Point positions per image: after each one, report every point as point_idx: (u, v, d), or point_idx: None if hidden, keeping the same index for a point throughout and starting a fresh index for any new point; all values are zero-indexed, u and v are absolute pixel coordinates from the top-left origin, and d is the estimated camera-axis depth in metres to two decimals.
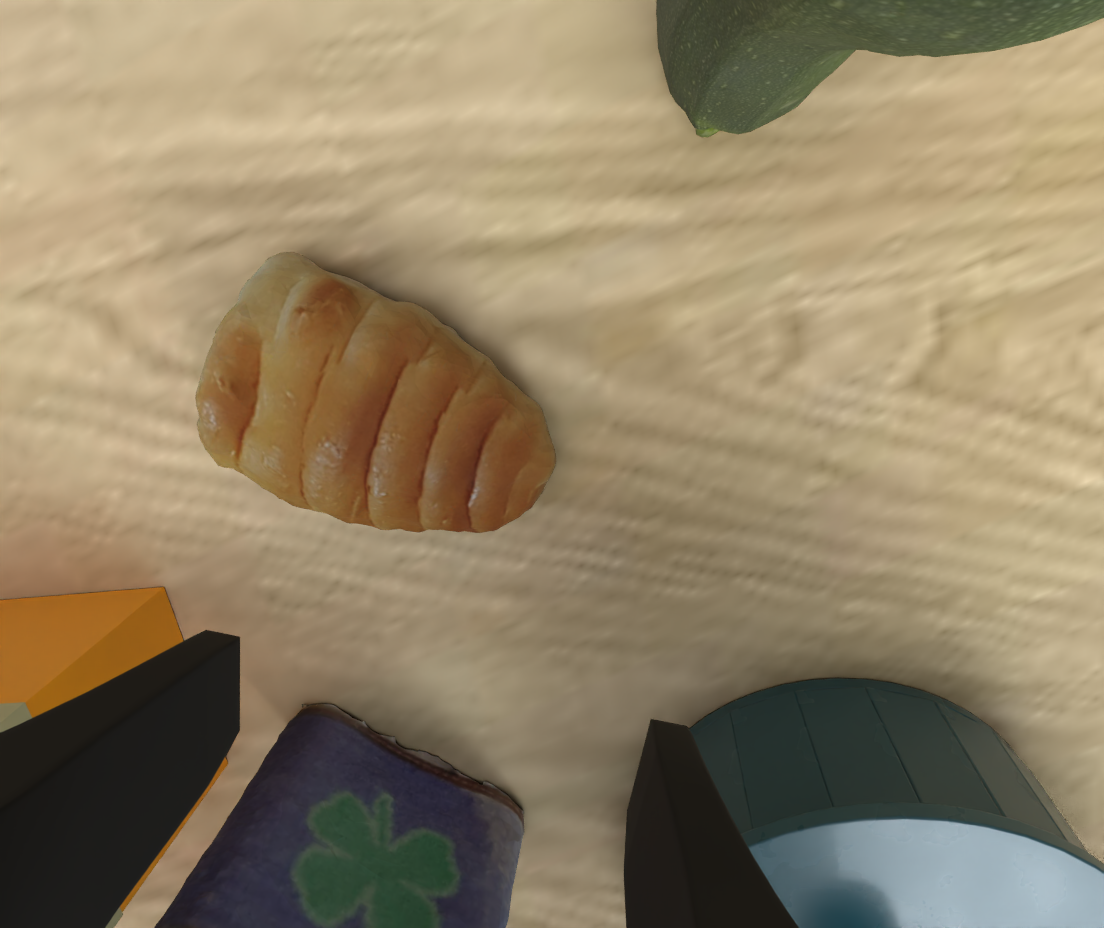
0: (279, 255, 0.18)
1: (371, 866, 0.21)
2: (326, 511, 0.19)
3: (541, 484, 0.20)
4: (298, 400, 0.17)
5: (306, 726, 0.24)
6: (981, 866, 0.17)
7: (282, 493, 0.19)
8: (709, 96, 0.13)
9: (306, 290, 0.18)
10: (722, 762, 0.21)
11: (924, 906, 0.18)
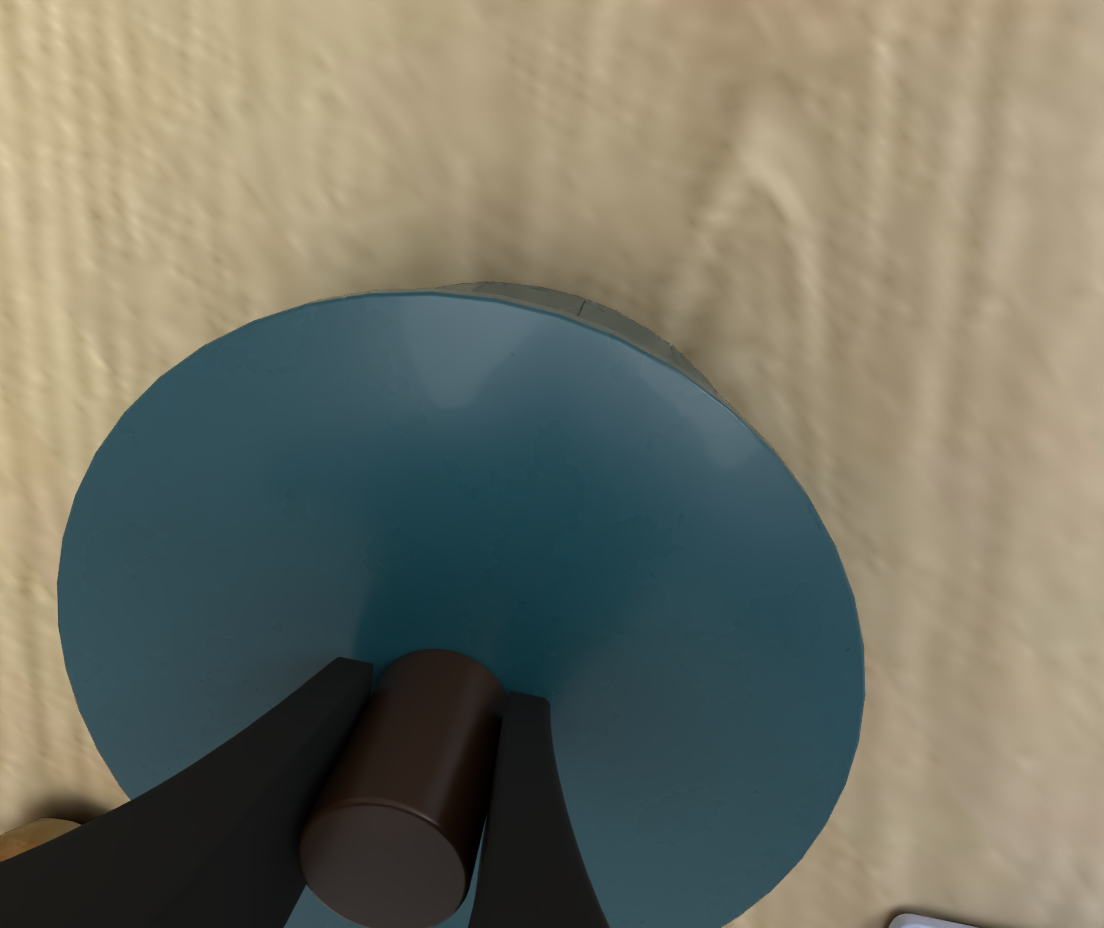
0: None
1: None
2: None
3: None
4: None
5: None
6: (122, 625, 0.13)
7: None
8: None
9: None
10: None
11: (208, 680, 0.13)
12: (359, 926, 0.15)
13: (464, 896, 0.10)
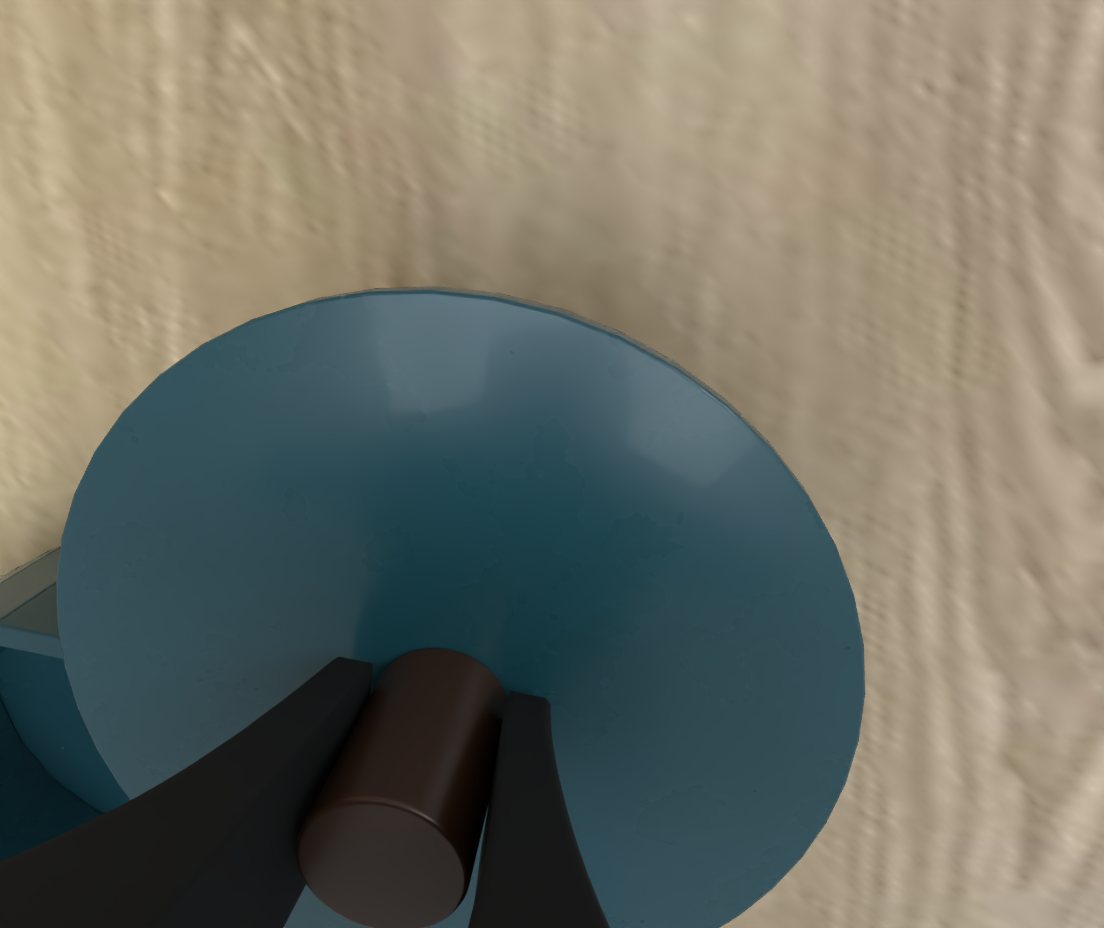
0: None
1: None
2: None
3: None
4: None
5: None
6: (120, 624, 0.13)
7: None
8: None
9: None
10: None
11: (207, 679, 0.13)
12: (359, 925, 0.15)
13: (463, 895, 0.10)
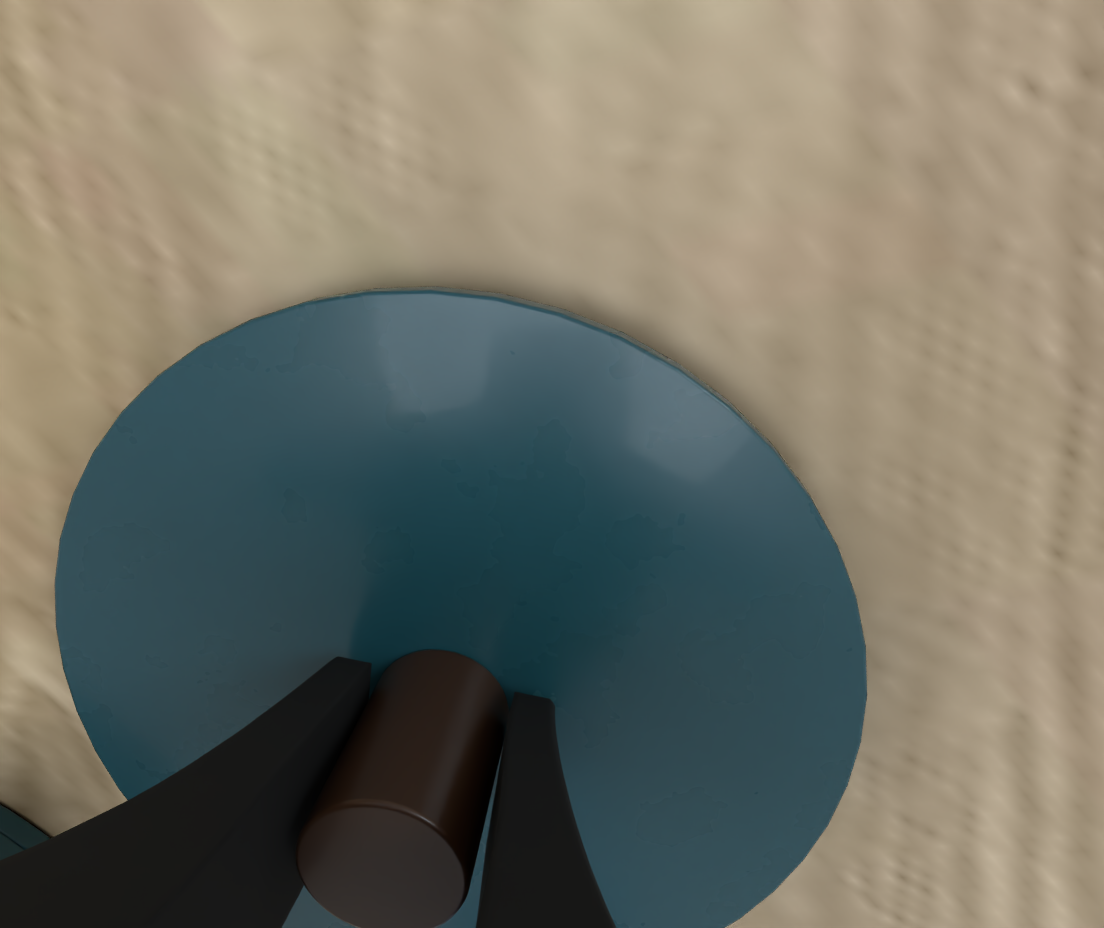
0: None
1: None
2: None
3: None
4: None
5: None
6: (119, 626, 0.13)
7: None
8: None
9: None
10: None
11: (206, 680, 0.13)
12: None
13: (463, 898, 0.10)
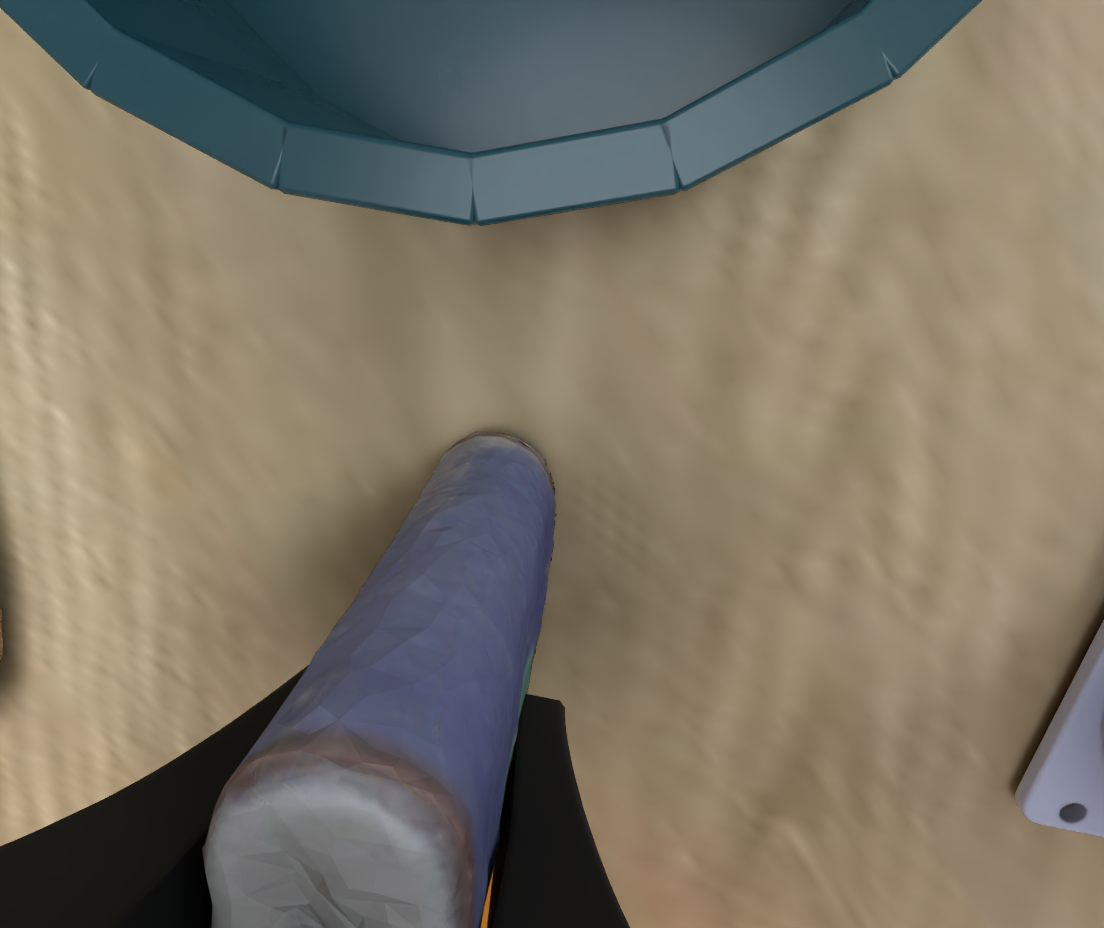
0: None
1: None
2: None
3: None
4: None
5: None
6: None
7: None
8: None
9: None
10: None
11: None
12: None
13: None
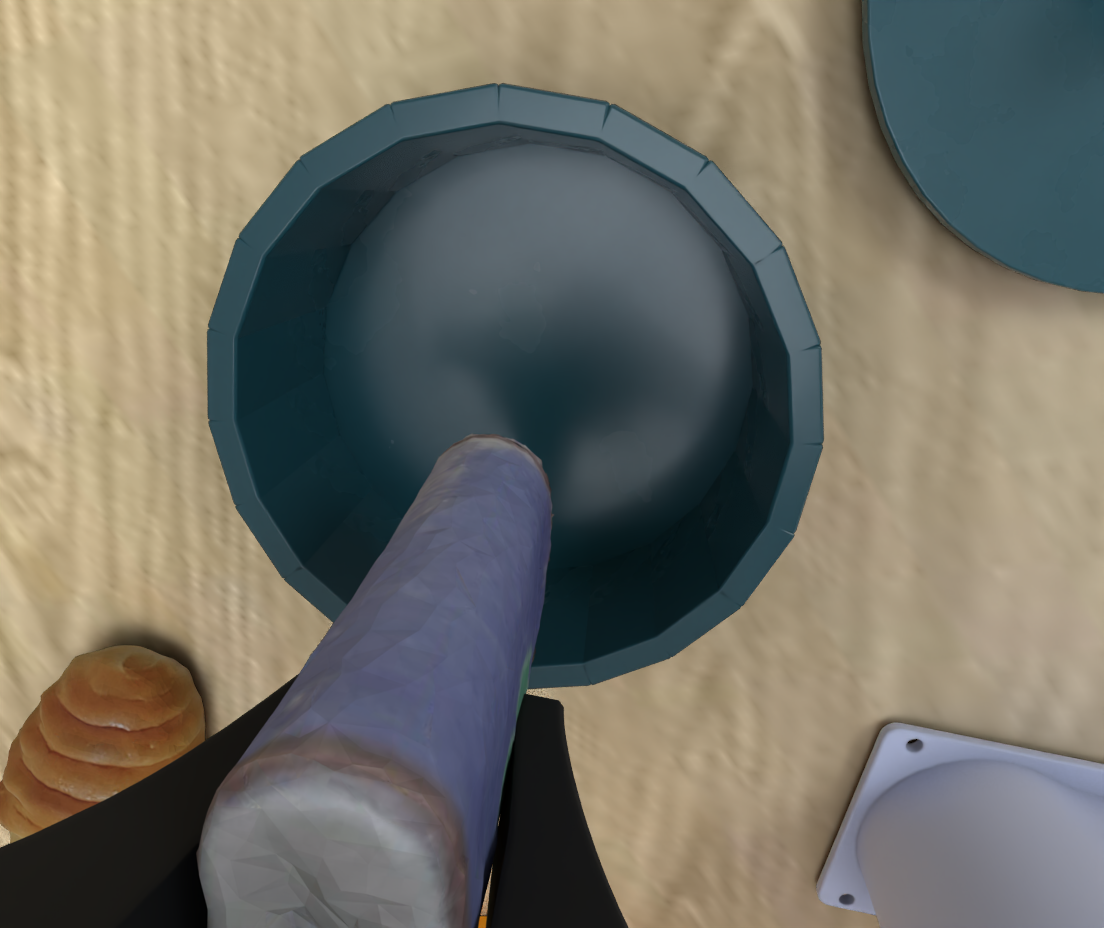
0: None
1: None
2: None
3: (123, 667, 0.24)
4: None
5: None
6: None
7: None
8: None
9: None
10: None
11: None
12: (1055, 234, 0.17)
13: None
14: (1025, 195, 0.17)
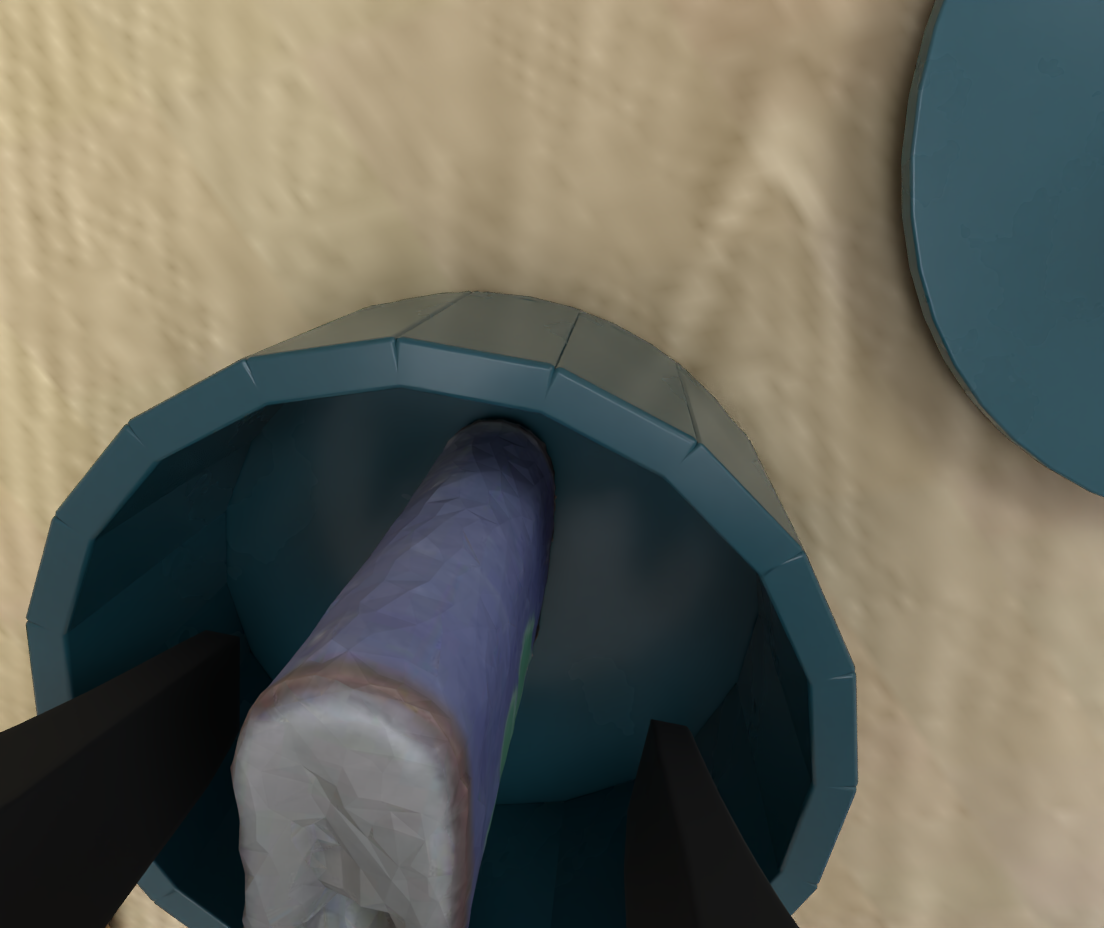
0: None
1: None
2: None
3: None
4: None
5: None
6: (1023, 15, 0.11)
7: None
8: None
9: None
10: None
11: None
12: None
13: None
14: None
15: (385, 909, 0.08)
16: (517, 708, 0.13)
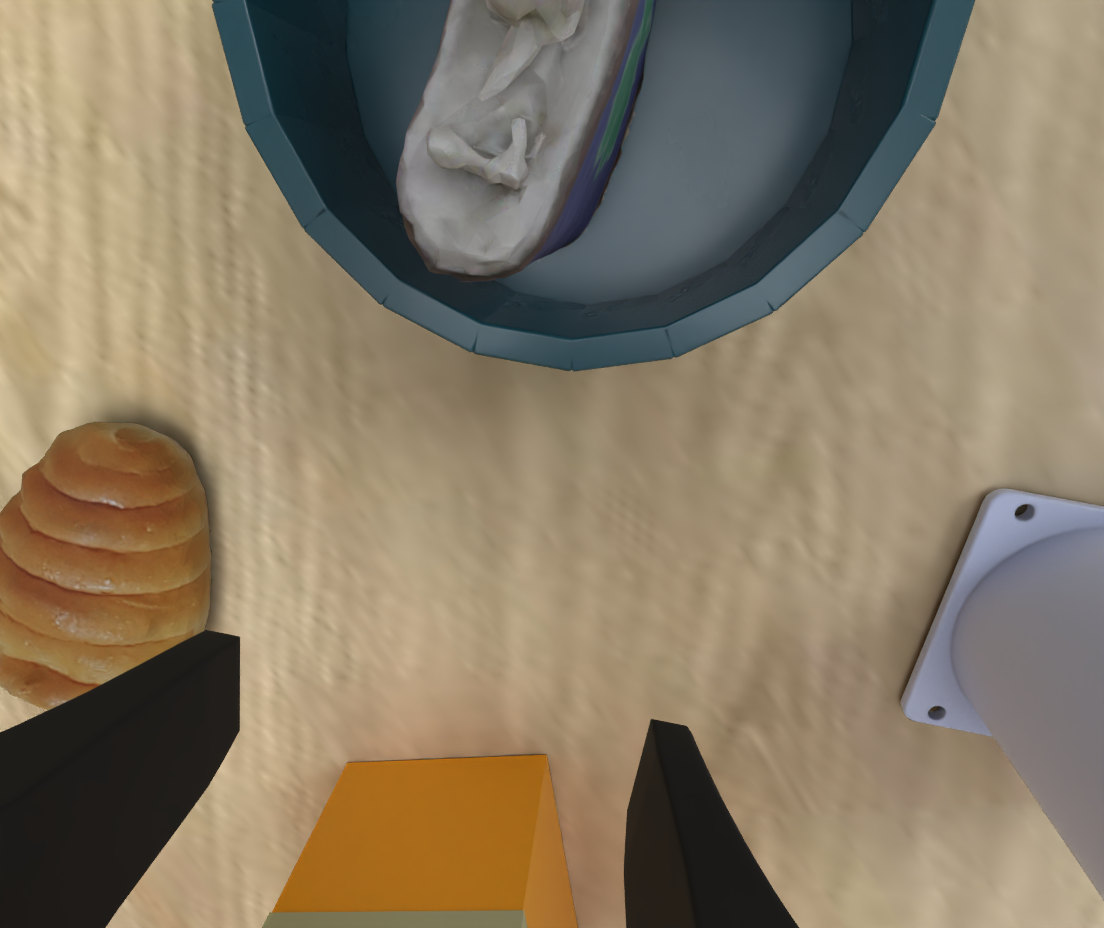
0: None
1: None
2: (144, 629, 0.22)
3: (115, 437, 0.21)
4: (26, 637, 0.21)
5: None
6: None
7: (141, 660, 0.22)
8: None
9: None
10: None
11: None
12: None
13: None
14: None
15: None
16: (650, 4, 0.14)
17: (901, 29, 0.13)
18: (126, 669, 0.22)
